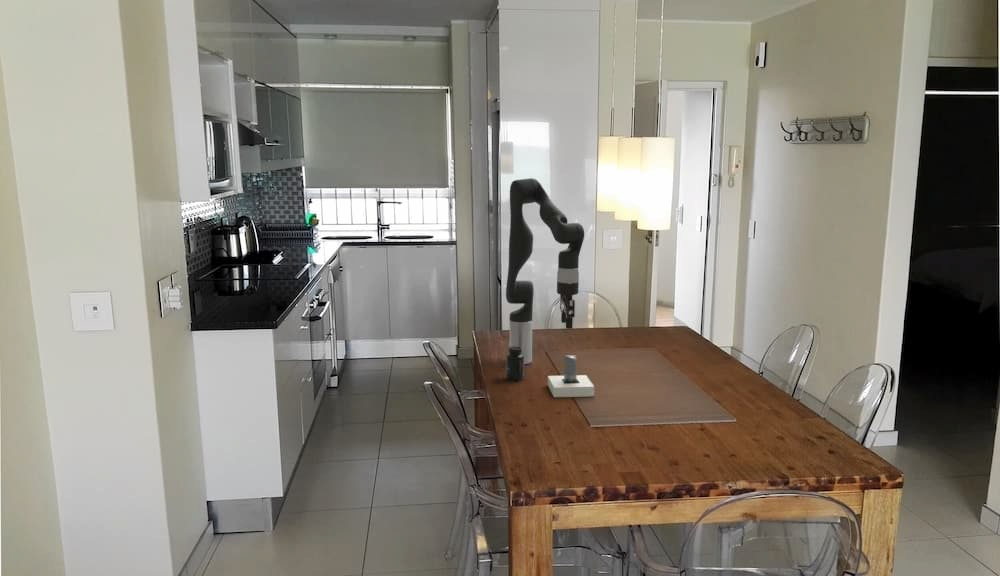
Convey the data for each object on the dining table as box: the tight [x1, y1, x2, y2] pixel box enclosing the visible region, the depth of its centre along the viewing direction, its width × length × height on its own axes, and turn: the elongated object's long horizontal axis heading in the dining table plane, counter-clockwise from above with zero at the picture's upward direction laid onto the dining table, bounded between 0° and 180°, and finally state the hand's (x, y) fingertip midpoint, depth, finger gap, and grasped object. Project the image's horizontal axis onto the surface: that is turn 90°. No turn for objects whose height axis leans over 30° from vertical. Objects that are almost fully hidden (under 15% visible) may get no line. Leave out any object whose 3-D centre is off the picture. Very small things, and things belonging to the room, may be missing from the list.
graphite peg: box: [563, 354, 578, 384], centre depth 257 cm, size 4×4×12 cm
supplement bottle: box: [505, 346, 525, 382], centre depth 271 cm, size 7×7×12 cm
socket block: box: [547, 374, 595, 398], centre depth 257 cm, size 14×14×4 cm
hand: (566, 325), depth 257 cm, fingers open, 8 cm apart
